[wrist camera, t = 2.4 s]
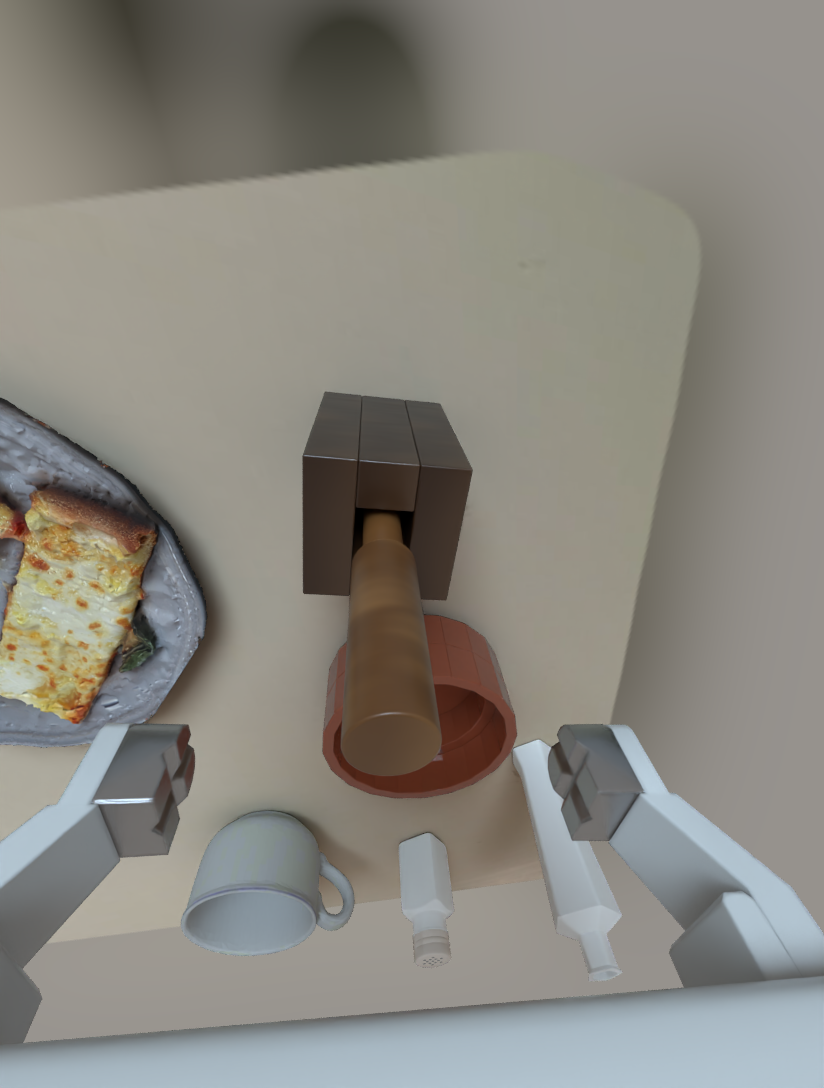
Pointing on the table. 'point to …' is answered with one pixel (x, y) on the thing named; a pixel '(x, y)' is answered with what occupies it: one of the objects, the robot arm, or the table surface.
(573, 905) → the white faceted bottle
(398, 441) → the utensil block
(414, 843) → the salt shaker
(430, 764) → the bowl
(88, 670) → the food plate
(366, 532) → the stirring stick
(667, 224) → the table surface
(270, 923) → the teacup
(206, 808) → the table surface
